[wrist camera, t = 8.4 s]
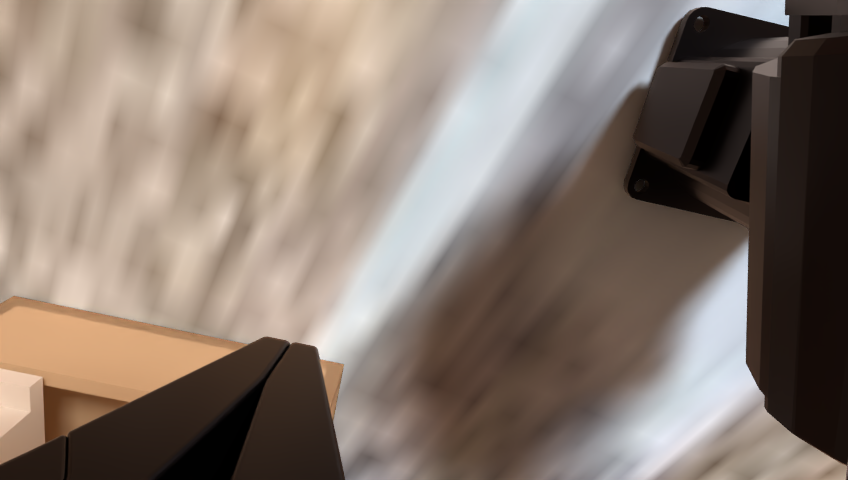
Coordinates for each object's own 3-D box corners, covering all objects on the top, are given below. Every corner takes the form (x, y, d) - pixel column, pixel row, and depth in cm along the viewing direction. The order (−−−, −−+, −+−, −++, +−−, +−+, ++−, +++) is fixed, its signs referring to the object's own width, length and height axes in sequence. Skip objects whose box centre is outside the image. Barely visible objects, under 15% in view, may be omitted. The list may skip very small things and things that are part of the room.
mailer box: (343, 364, 22) (323, 427, 19) (310, 535, 26) (287, 618, 22) (13, 295, 22) (-77, 346, 18) (24, 479, 25) (-51, 554, 21)
